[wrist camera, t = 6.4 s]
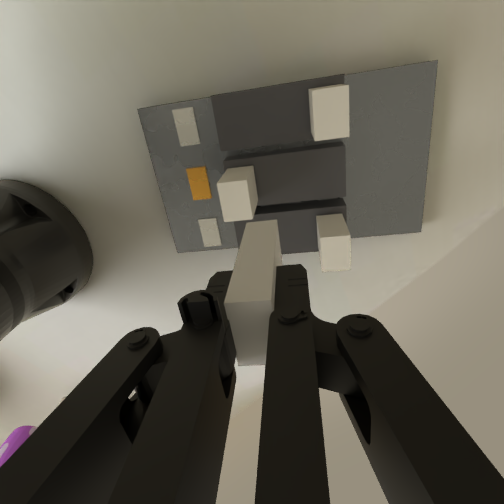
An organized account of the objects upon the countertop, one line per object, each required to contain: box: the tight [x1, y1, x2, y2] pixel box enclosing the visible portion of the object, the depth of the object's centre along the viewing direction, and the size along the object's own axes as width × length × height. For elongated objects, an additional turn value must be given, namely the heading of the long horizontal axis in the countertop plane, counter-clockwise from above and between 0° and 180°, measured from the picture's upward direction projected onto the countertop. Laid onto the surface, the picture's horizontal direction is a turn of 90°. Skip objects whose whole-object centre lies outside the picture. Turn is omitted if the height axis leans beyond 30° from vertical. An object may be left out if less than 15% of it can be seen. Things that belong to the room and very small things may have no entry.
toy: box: [0, 397, 66, 467], centre depth 44 cm, size 7×7×15 cm
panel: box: [137, 60, 438, 253], centre depth 30 cm, size 24×14×2 cm, turn 98°
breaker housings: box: [211, 74, 351, 272], centre depth 26 cm, size 10×14×7 cm
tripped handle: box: [217, 165, 258, 222], centre depth 26 cm, size 2×3×4 cm
